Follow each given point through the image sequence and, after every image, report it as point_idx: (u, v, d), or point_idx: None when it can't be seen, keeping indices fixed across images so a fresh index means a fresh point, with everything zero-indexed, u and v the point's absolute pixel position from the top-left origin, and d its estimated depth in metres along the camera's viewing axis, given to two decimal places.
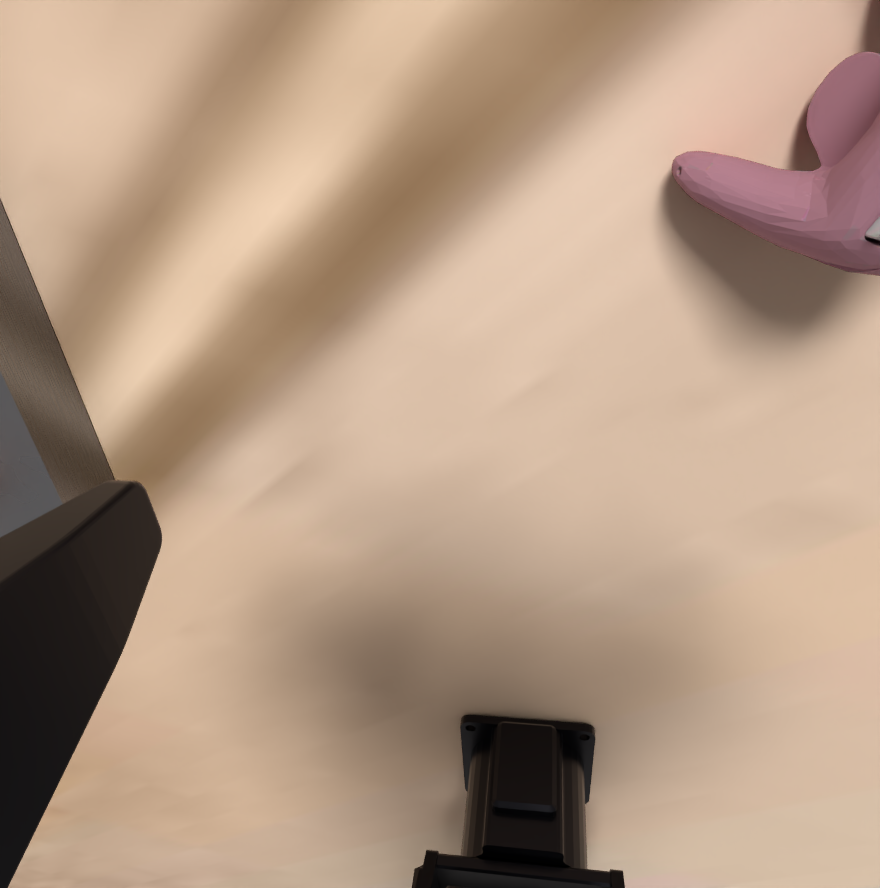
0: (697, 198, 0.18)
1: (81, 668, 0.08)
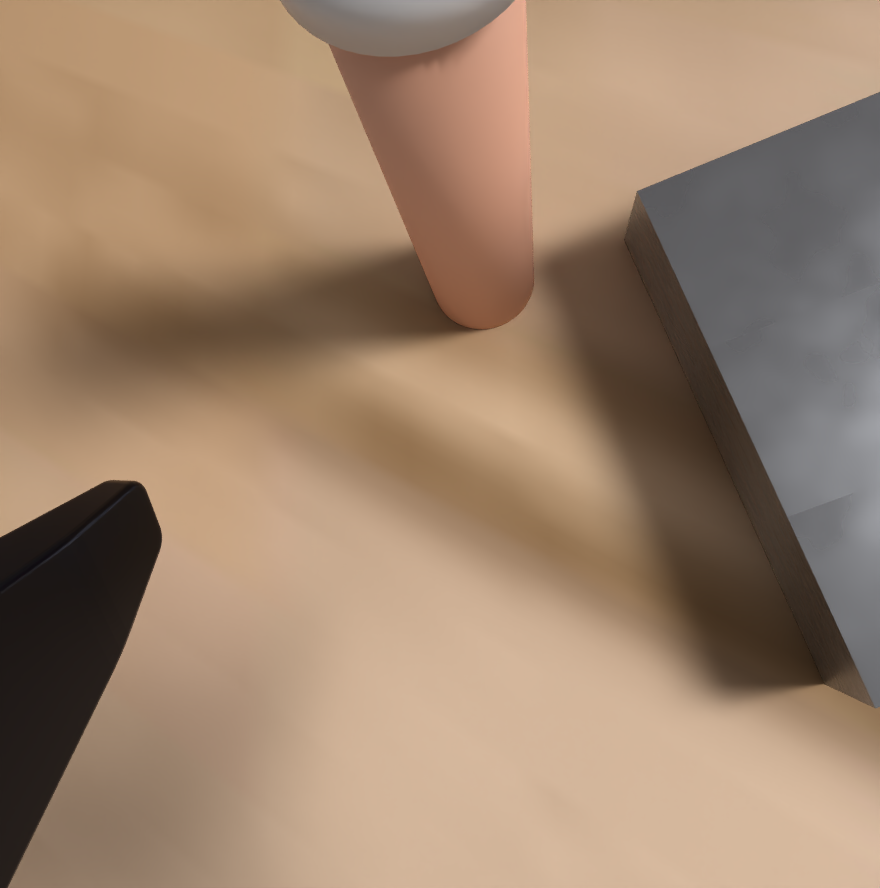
0: None
1: (81, 668, 0.08)
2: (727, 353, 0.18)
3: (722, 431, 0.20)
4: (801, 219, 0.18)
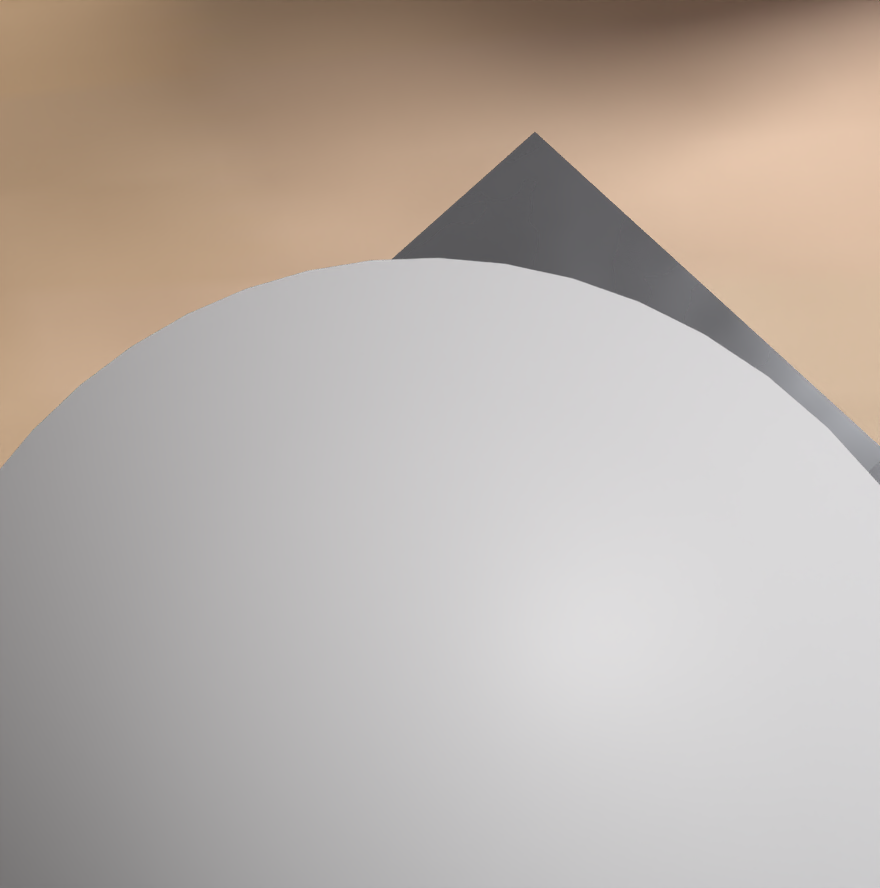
0: None
1: None
2: None
3: None
4: None
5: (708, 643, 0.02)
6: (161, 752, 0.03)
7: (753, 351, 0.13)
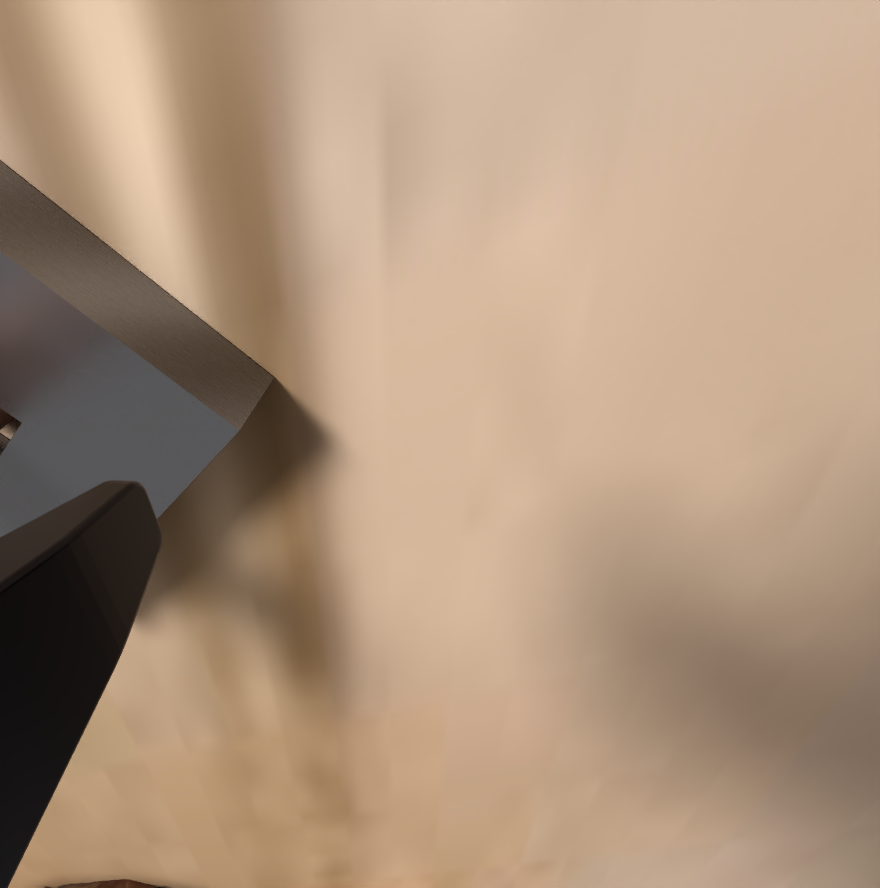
0: None
1: (81, 668, 0.08)
2: None
3: None
4: None
5: None
6: None
7: None
